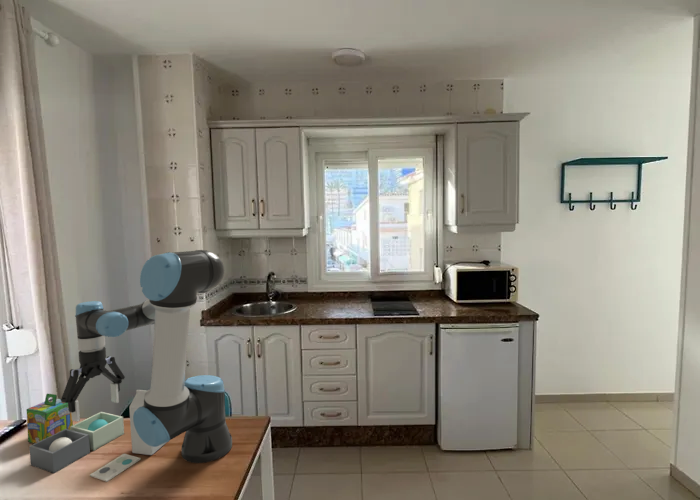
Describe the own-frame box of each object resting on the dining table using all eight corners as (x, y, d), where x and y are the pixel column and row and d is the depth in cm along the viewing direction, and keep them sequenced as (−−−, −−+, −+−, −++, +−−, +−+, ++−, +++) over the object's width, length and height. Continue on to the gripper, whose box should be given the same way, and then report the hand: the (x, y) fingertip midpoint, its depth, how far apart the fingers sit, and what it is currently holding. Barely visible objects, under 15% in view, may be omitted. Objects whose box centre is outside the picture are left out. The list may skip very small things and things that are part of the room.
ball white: (77, 454, 124) (76, 435, 124) (57, 464, 118) (56, 444, 118) (64, 450, 126) (64, 432, 126) (44, 460, 121) (43, 441, 120)
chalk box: (27, 442, 132) (23, 399, 131) (55, 428, 140) (52, 388, 139) (47, 447, 129) (44, 403, 128) (74, 432, 138) (71, 391, 137)
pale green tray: (124, 433, 136) (123, 416, 136) (94, 450, 126) (92, 432, 126) (102, 428, 140) (101, 411, 140) (71, 444, 130) (70, 426, 130)
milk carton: (151, 455, 123) (148, 396, 122) (132, 453, 125) (128, 394, 123) (166, 443, 130) (163, 386, 129) (147, 440, 132) (144, 385, 130)
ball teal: (113, 434, 135) (112, 417, 134) (96, 443, 129) (94, 426, 129) (101, 431, 137) (99, 414, 137) (83, 440, 132) (82, 423, 131)
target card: (140, 459, 121) (140, 457, 121) (106, 481, 111) (106, 479, 111) (124, 454, 124) (124, 453, 124) (89, 476, 114) (89, 474, 114)
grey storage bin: (90, 453, 125) (88, 434, 125) (54, 473, 115) (52, 453, 115) (67, 446, 129) (66, 428, 129) (30, 465, 119) (29, 446, 119)
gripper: (118, 336, 144) (122, 393, 146) (43, 360, 121) (49, 427, 122) (133, 338, 141) (137, 396, 143) (59, 363, 118) (65, 431, 120)
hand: (96, 410), depth 133 cm, fingers open, 13 cm apart
